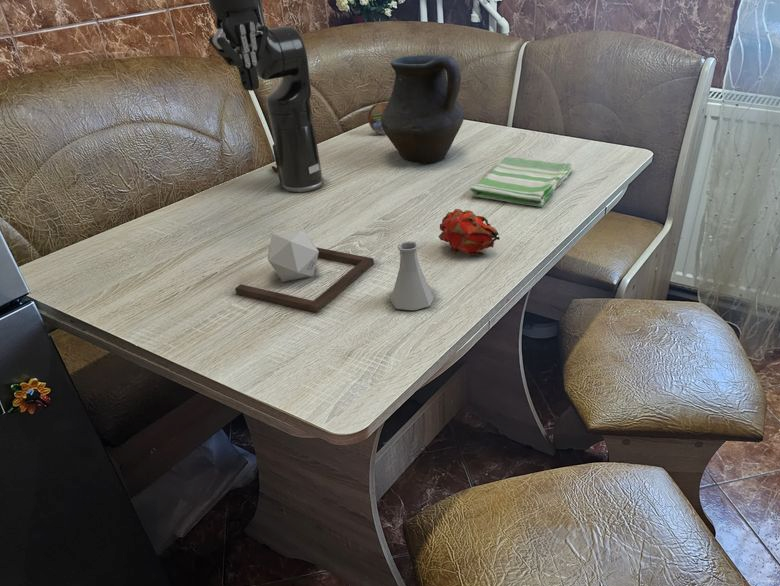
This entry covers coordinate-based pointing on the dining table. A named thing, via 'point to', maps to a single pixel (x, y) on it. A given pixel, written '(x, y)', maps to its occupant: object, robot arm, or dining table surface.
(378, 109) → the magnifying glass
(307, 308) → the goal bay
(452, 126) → the pitcher
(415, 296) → the flask
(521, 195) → the dish towel
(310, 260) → the die
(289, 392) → the dining table surface
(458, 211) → the dragon fruit
